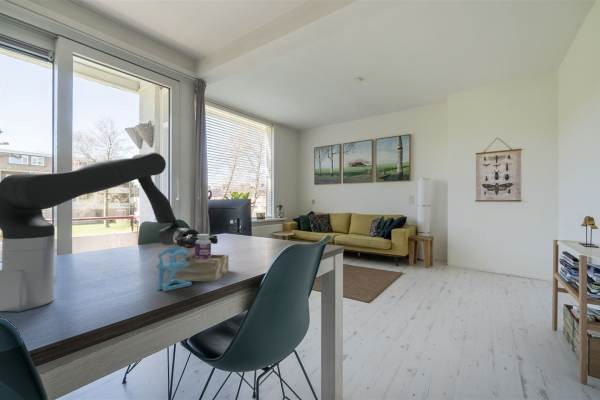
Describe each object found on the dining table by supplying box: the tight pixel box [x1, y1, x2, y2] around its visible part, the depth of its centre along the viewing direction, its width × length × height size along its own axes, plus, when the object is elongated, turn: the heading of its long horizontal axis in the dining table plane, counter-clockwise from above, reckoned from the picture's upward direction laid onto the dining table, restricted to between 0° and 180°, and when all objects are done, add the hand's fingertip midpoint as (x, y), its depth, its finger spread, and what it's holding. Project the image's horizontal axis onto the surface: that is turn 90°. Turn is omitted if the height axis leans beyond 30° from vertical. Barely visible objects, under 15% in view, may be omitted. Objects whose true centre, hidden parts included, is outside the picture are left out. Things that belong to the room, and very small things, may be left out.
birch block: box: [173, 253, 229, 282], centre depth 94 cm, size 14×14×6 cm
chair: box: [155, 246, 193, 292], centre depth 81 cm, size 8×8×12 cm
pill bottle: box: [194, 233, 212, 262], centre depth 94 cm, size 5×5×10 cm
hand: (205, 242), depth 93 cm, fingers open, 8 cm apart
